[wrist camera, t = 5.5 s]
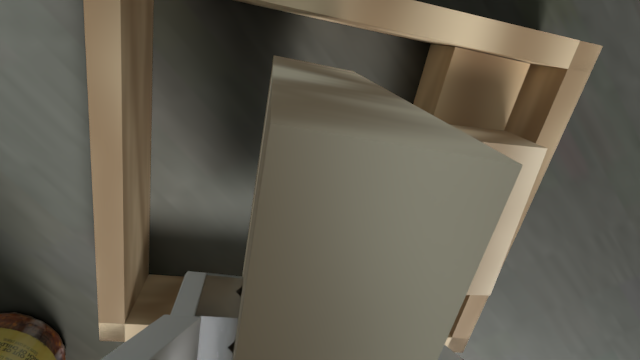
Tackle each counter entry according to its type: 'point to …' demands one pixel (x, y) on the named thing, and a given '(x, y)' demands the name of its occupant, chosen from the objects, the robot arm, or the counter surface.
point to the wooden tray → (321, 3)
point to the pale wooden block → (361, 222)
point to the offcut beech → (510, 217)
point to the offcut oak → (469, 87)
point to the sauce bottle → (28, 339)
